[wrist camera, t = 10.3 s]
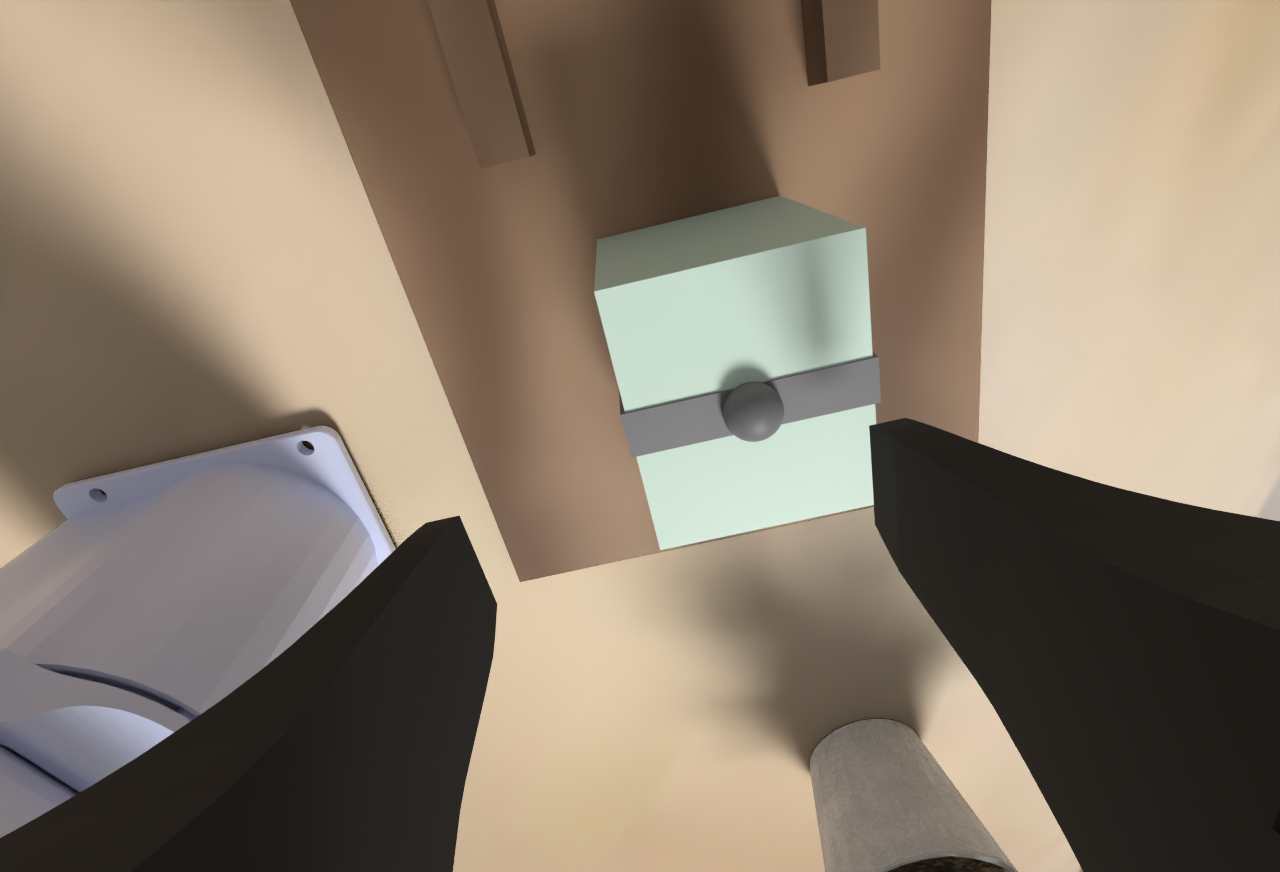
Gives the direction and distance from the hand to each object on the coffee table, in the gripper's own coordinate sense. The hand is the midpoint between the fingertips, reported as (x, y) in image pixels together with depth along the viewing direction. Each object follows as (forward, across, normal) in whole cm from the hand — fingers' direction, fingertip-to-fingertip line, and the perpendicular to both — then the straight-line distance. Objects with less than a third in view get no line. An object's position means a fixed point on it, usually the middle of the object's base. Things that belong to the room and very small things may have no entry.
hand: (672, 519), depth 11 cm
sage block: (+8, -2, -1) cm, 9 cm away
